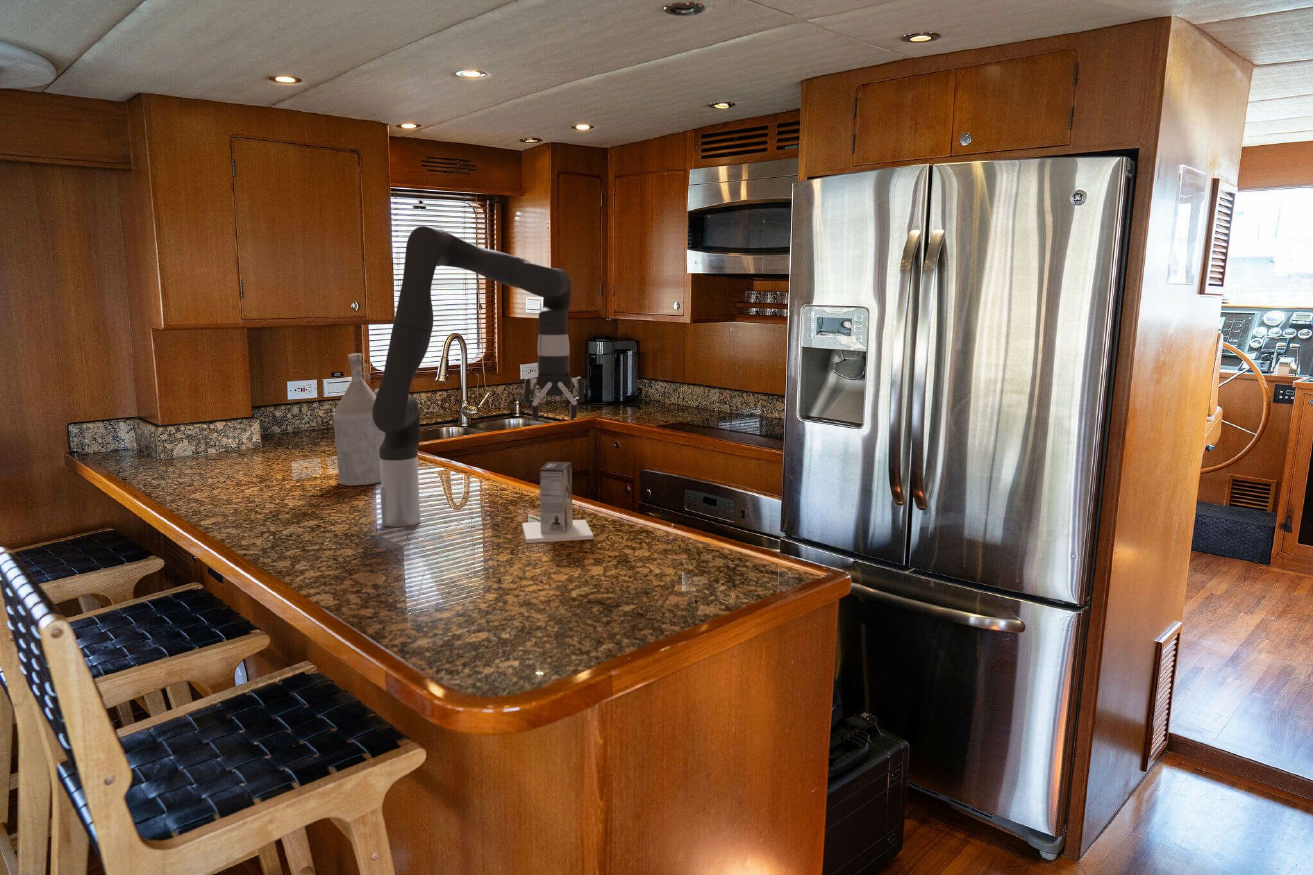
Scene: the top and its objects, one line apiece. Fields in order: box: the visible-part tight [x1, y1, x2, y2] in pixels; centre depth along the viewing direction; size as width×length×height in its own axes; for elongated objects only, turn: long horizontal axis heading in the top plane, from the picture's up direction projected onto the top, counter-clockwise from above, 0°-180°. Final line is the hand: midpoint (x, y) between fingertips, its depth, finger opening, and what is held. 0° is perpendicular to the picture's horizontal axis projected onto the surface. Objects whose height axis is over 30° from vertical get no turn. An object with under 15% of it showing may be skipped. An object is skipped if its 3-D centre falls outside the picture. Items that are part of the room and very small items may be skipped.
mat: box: [521, 519, 594, 544], centre depth 212 cm, size 16×14×1 cm
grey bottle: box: [332, 352, 385, 487], centre depth 263 cm, size 13×17×40 cm
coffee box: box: [538, 461, 574, 534], centre depth 210 cm, size 9×6×16 cm
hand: (554, 420), depth 207 cm, fingers open, 8 cm apart
